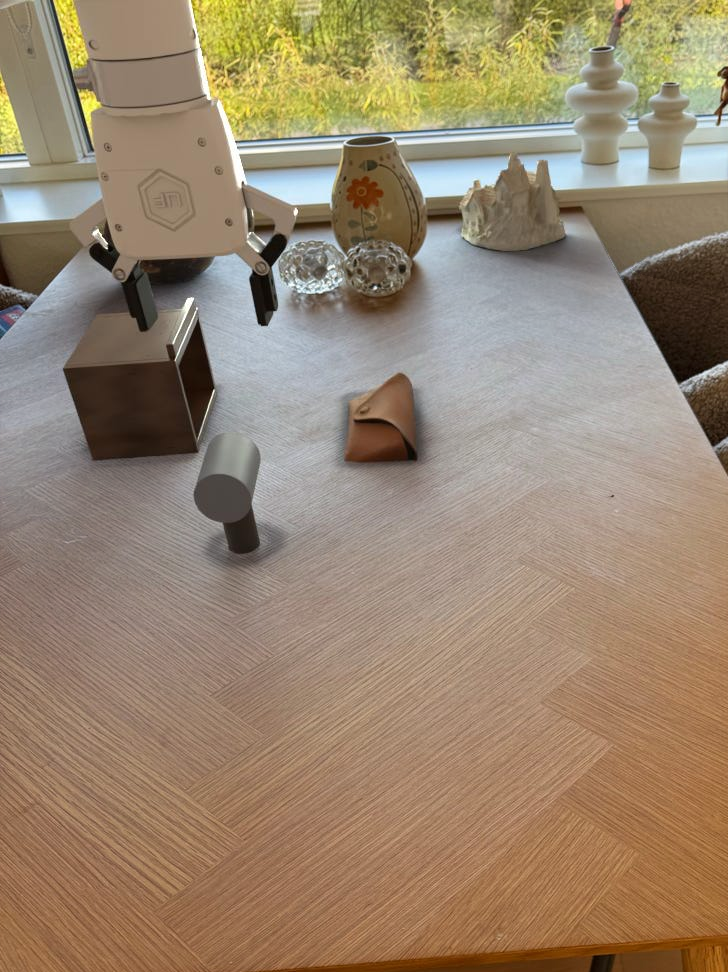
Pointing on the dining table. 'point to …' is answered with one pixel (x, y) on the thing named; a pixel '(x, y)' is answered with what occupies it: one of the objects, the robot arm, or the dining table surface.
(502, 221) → the ceramic cottage
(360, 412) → the sunglasses case
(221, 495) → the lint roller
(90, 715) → the dining table surface
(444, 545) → the dining table surface
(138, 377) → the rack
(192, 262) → the glass bottle
